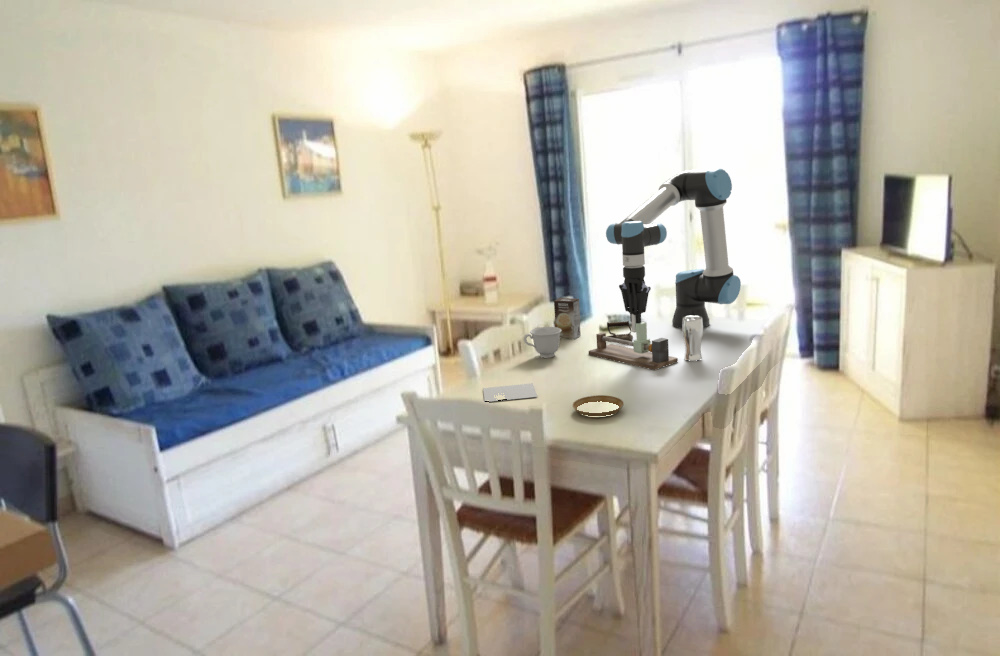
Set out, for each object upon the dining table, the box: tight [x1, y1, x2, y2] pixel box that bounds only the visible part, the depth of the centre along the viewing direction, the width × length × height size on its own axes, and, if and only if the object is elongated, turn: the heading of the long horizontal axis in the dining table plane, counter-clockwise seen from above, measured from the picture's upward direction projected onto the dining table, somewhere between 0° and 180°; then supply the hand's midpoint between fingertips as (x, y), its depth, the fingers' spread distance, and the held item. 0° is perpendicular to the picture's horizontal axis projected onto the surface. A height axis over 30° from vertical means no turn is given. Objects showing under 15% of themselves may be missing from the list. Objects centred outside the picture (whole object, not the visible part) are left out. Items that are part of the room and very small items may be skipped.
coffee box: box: [553, 297, 581, 340], centre depth 284 cm, size 9×6×16 cm
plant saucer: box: [572, 394, 624, 416], centre depth 199 cm, size 15×15×3 cm
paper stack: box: [482, 383, 538, 403], centre depth 226 cm, size 23×25×1 cm
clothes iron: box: [606, 320, 634, 342], centre depth 273 cm, size 7×11×10 cm, turn 76°
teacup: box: [523, 326, 562, 359], centre depth 259 cm, size 12×15×10 cm
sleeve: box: [632, 321, 652, 354], centre depth 242 cm, size 5×4×10 cm
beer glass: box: [681, 316, 704, 362], centre depth 239 cm, size 7×7×15 cm
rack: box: [588, 332, 679, 371], centre depth 247 cm, size 12×32×9 cm, turn 37°
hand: (636, 331), depth 244 cm, fingers closed
